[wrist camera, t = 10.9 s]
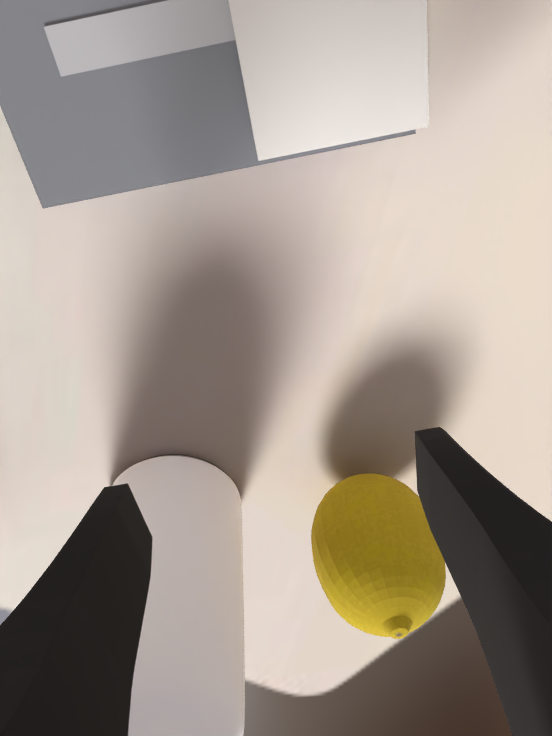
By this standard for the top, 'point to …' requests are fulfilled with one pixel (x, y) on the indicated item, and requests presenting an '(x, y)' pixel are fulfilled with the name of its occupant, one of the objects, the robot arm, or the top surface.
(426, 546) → the lemon
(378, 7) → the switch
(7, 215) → the top surface
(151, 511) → the can
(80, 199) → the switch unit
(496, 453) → the top surface
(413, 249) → the top surface
